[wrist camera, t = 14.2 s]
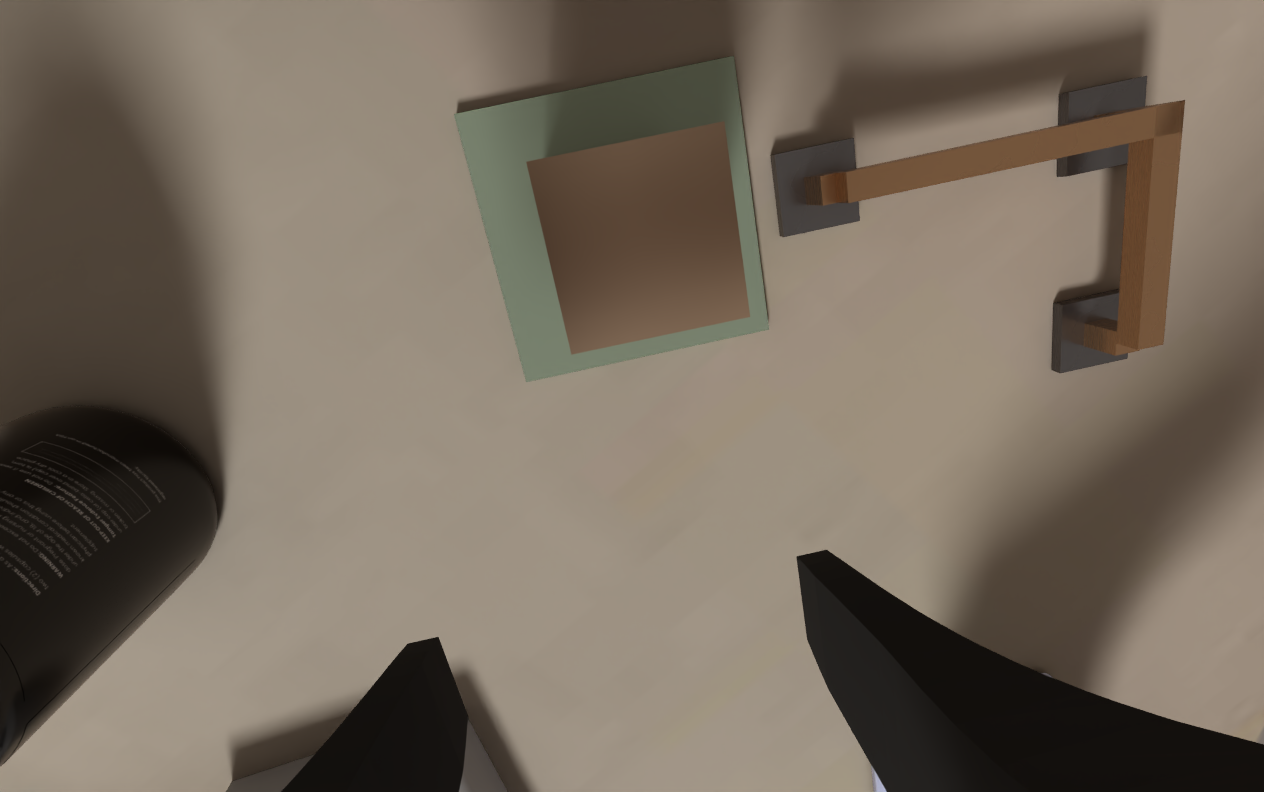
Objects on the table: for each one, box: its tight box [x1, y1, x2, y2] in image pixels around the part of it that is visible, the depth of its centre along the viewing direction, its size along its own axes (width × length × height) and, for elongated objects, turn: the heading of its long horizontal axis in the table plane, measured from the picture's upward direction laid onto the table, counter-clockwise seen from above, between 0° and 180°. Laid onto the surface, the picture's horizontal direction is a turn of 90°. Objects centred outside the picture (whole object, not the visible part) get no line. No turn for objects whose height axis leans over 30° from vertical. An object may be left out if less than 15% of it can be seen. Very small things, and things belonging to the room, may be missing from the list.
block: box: [526, 121, 750, 355], centre depth 16 cm, size 4×4×6 cm
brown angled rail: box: [771, 76, 1185, 373], centre depth 19 cm, size 9×11×2 cm
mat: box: [454, 56, 769, 382], centre depth 19 cm, size 8×8×1 cm
